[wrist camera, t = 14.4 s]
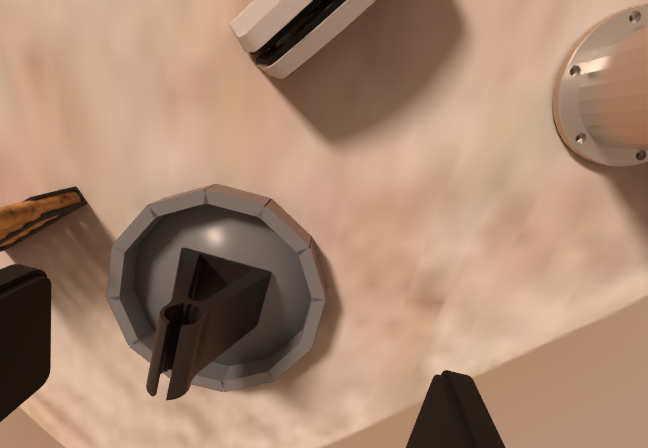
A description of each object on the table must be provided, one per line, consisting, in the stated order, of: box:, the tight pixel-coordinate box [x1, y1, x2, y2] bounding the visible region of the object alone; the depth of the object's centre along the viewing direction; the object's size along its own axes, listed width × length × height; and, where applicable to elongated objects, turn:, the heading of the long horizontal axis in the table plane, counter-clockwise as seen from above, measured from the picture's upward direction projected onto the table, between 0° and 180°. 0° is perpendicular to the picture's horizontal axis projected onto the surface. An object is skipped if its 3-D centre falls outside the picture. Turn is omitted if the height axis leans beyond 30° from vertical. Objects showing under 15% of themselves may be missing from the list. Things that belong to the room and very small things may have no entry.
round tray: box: [106, 184, 326, 392], centre depth 34 cm, size 20×20×3 cm
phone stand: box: [146, 248, 272, 400], centre depth 29 cm, size 9×6×12 cm, turn 73°
